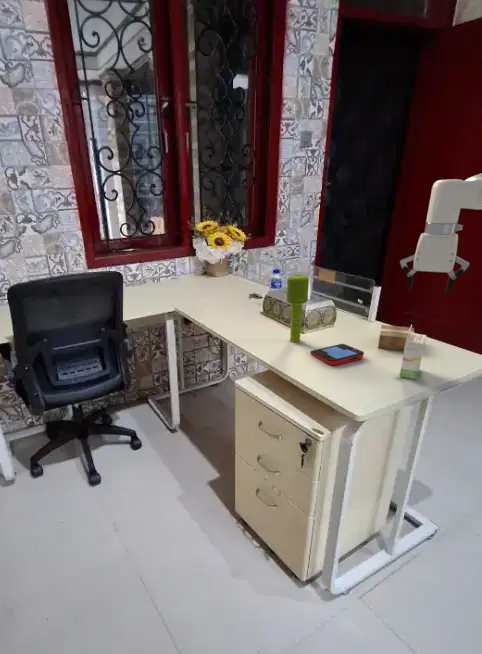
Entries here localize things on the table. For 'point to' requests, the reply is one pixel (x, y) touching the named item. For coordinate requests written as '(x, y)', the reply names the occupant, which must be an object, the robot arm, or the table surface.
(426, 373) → the table surface
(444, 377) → the table surface
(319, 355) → the game console
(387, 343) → the cardboard box
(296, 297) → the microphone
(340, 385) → the table surface
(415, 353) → the ink box
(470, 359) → the table surface
